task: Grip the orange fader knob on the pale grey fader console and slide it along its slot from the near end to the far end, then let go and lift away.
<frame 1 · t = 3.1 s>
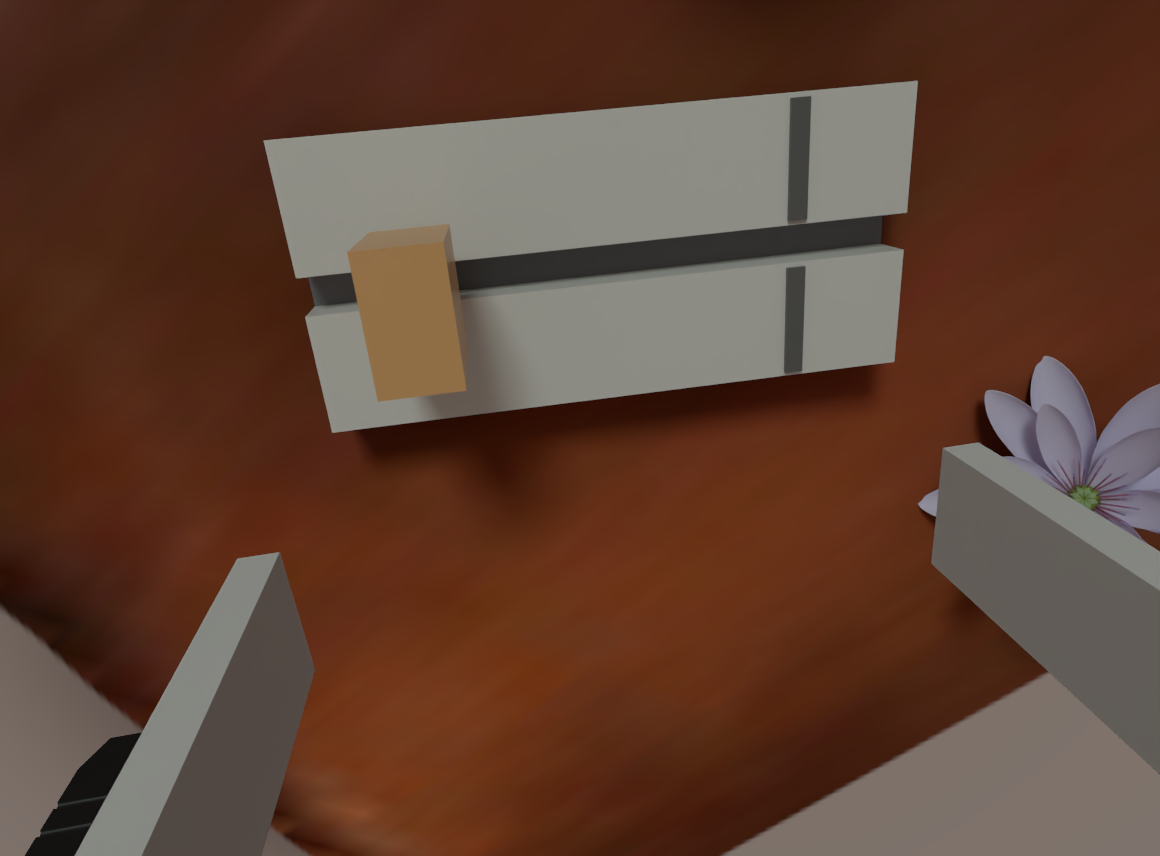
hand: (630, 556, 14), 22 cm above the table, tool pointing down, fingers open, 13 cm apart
water lily: (1018, 443, 41), on the table
fader console: (602, 252, 34), on the table
fader knob: (419, 297, 28), point 6 cm above the table, slide at 0.0 cm
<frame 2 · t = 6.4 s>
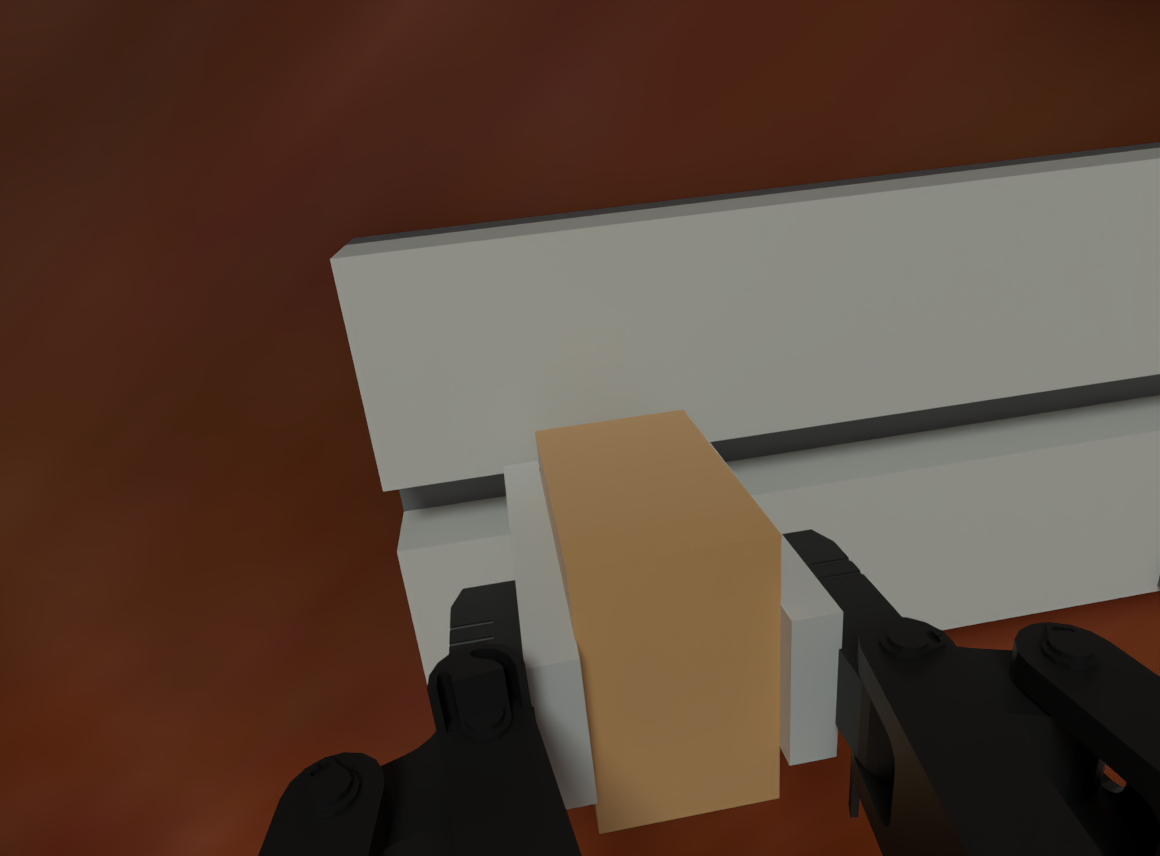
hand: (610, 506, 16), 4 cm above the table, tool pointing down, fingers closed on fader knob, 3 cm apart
fader console: (859, 396, 21), on the table
fader knob: (625, 544, 15), point 6 cm above the table, slide at 0.0 cm, touching gripper
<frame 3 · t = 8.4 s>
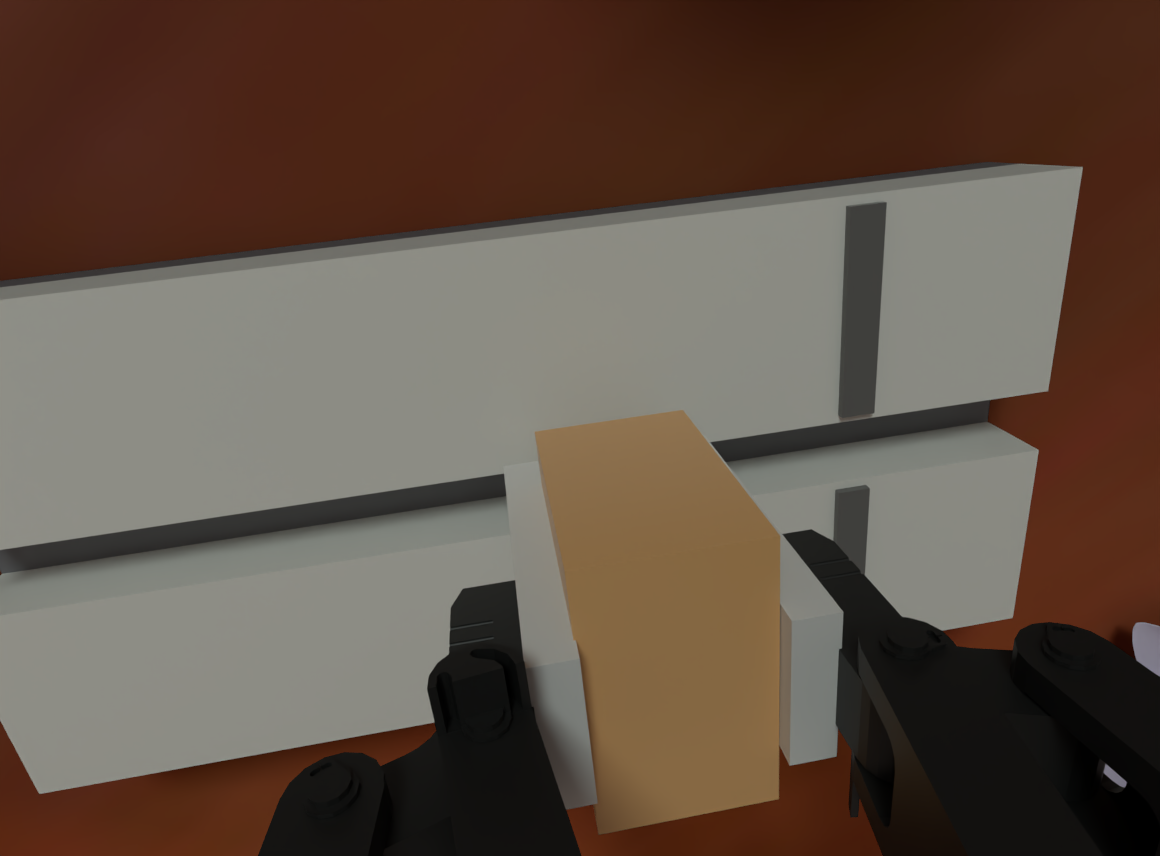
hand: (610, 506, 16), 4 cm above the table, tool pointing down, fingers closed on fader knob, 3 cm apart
fader console: (517, 447, 20), on the table
fader knob: (625, 545, 15), point 6 cm above the table, slide at 9.9 cm, touching gripper
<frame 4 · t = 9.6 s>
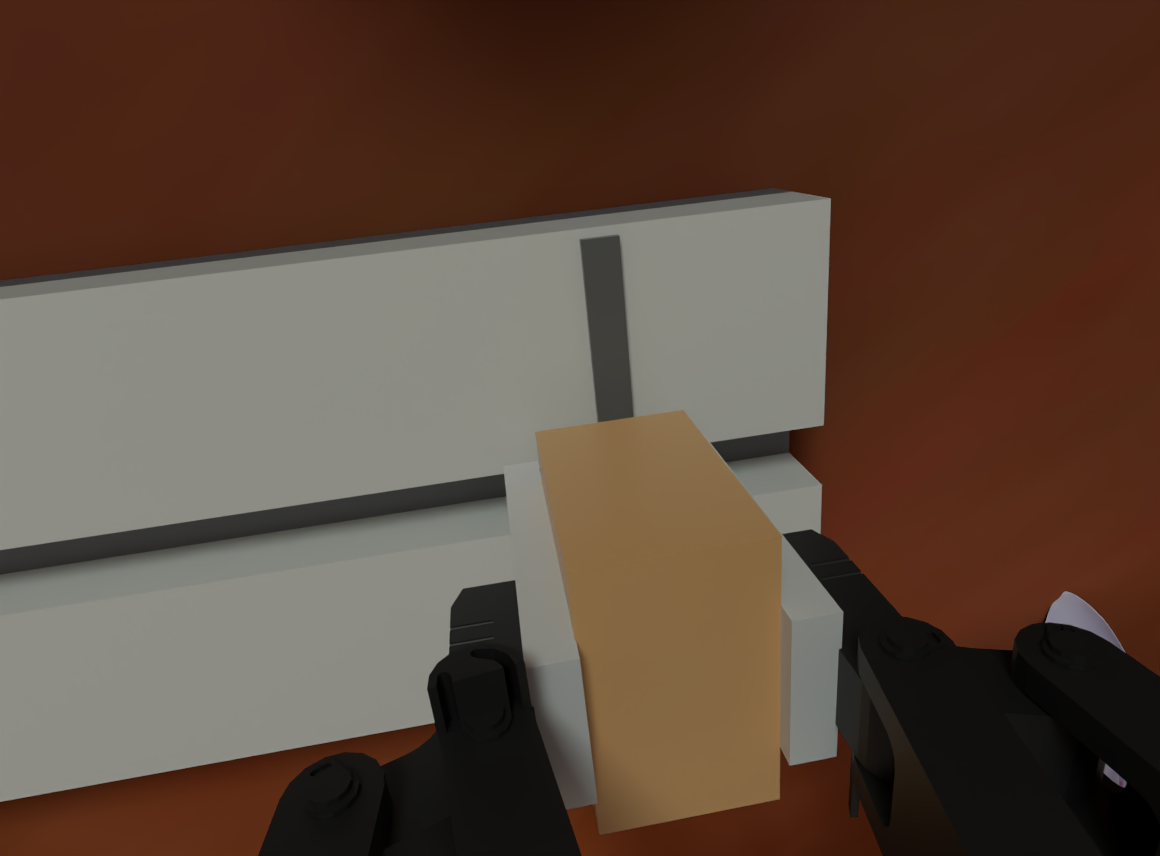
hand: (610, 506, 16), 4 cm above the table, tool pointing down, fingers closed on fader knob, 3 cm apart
water lily: (1020, 706, 27), on the table
fader console: (303, 479, 19), on the table
fader knob: (625, 545, 15), point 6 cm above the table, slide at 15.6 cm, touching gripper
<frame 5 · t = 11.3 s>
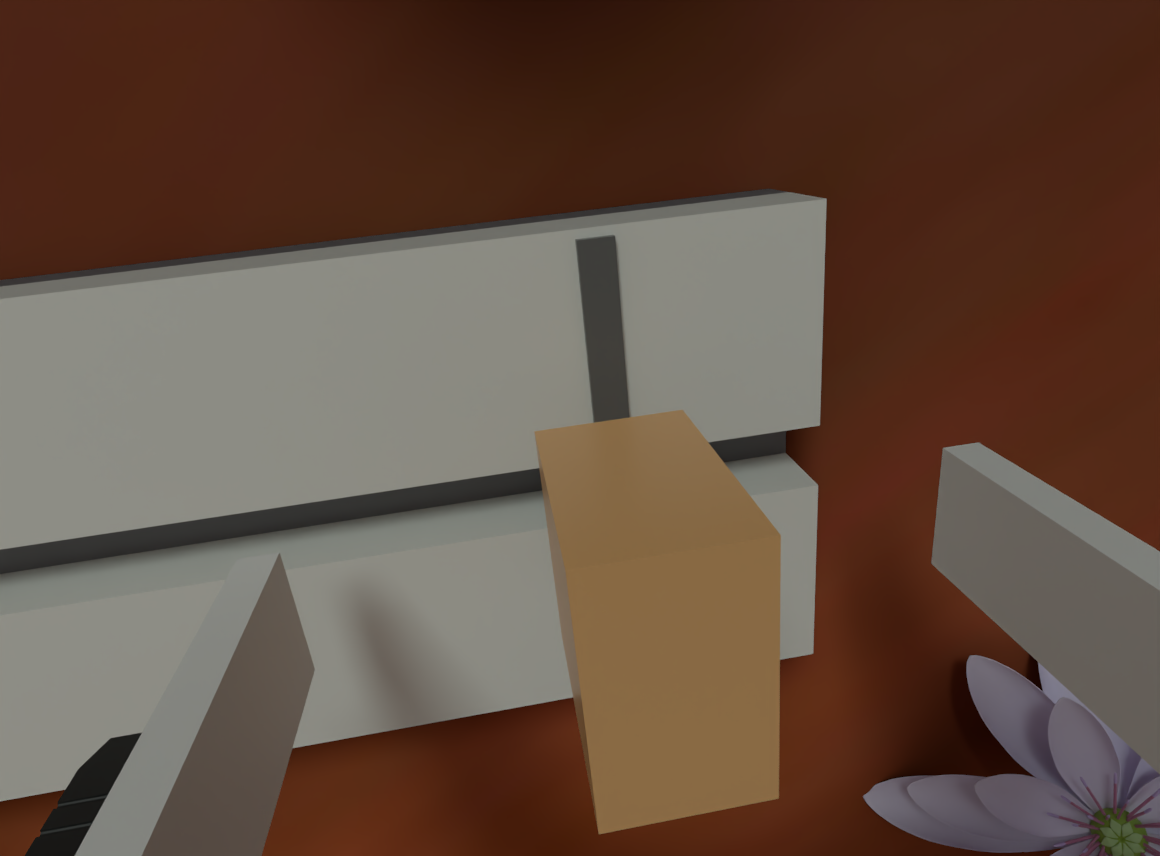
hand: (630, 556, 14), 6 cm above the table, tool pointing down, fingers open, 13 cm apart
water lily: (1015, 708, 27), on the table
fader console: (299, 479, 19), on the table
fader knob: (625, 545, 15), point 6 cm above the table, slide at 15.7 cm
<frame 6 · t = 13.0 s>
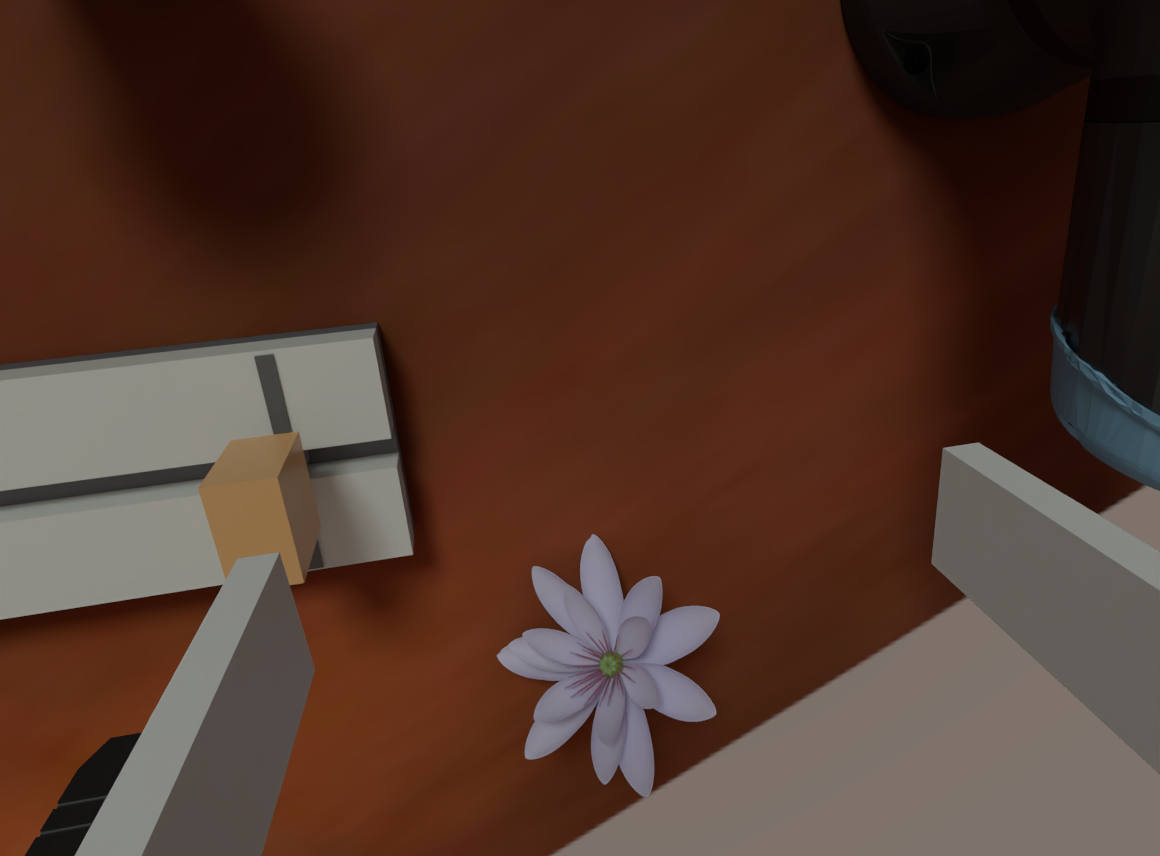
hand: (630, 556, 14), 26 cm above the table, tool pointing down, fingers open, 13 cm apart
water lily: (584, 604, 47), on the table
fader console: (143, 463, 38), on the table
fader knob: (274, 490, 34), point 6 cm above the table, slide at 15.7 cm
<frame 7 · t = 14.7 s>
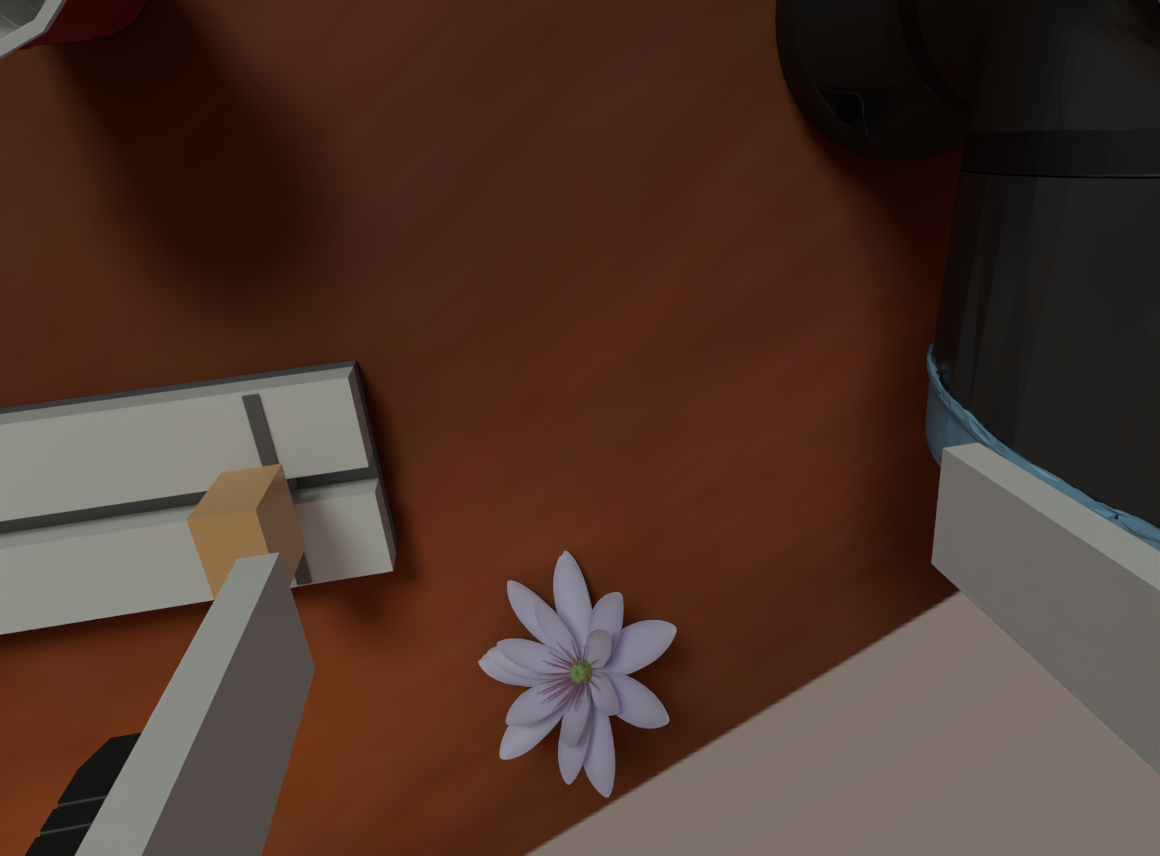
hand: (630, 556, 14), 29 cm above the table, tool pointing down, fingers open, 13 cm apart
water lily: (560, 615, 50), on the table
fader console: (151, 489, 42), on the table
fader knob: (261, 516, 38), point 6 cm above the table, slide at 15.7 cm
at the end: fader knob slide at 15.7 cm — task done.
